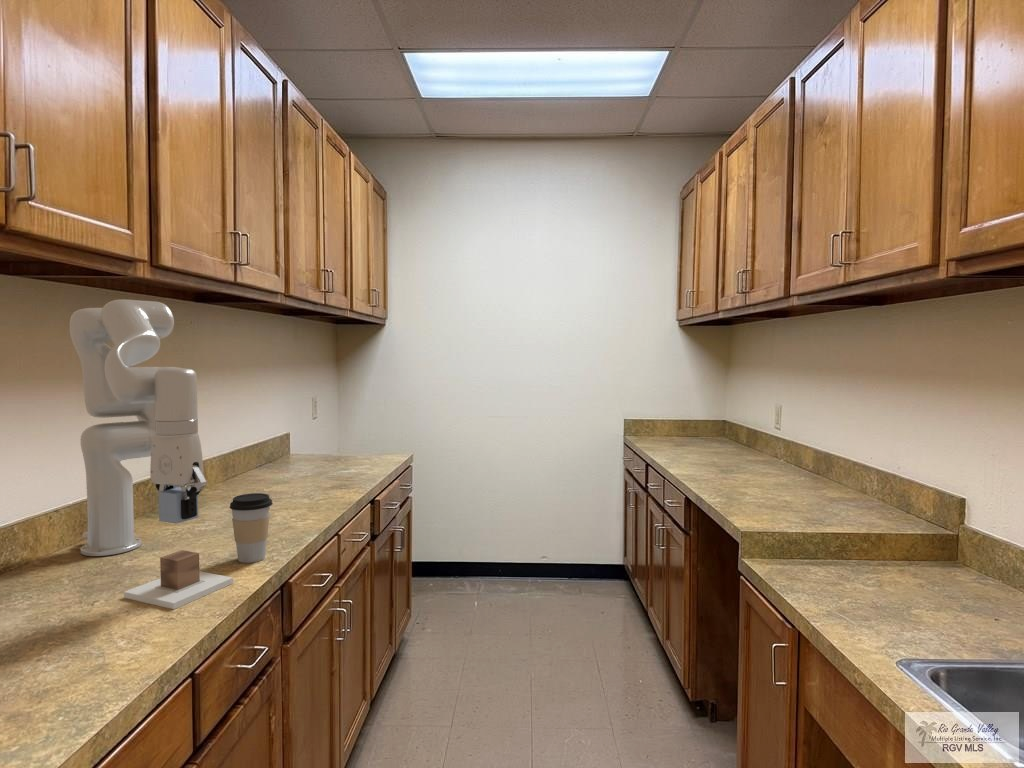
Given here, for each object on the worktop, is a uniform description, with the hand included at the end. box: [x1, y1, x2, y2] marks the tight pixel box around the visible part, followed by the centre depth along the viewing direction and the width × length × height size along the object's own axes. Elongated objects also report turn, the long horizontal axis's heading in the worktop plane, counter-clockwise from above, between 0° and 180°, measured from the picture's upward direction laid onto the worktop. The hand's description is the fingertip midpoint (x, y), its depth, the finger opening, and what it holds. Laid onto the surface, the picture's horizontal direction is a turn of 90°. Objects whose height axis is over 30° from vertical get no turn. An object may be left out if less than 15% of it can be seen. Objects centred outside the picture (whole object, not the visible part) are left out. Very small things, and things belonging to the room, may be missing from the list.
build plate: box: [123, 570, 234, 610], centre depth 121 cm, size 14×14×1 cm
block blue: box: [158, 486, 199, 525], centre depth 120 cm, size 5×5×6 cm
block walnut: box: [159, 549, 201, 590], centre depth 121 cm, size 5×5×6 cm
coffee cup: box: [229, 492, 273, 564], centre depth 140 cm, size 9×9×15 cm
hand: (179, 515), depth 120 cm, fingers closed on block blue, 5 cm apart
